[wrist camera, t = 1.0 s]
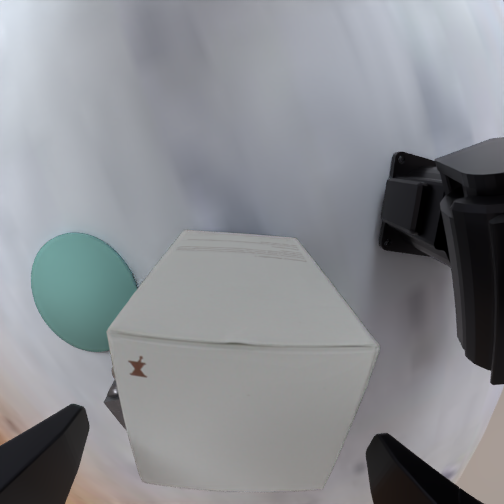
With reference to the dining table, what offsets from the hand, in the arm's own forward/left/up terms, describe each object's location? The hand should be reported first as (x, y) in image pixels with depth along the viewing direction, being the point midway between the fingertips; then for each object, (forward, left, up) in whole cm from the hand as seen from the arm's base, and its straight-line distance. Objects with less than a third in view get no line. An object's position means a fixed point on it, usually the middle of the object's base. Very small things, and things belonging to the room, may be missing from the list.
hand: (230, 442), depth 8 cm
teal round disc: (+11, +2, -13) cm, 17 cm away
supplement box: (0, 0, -13) cm, 13 cm away
